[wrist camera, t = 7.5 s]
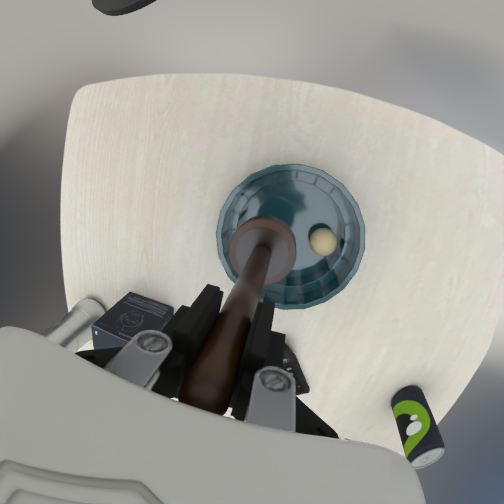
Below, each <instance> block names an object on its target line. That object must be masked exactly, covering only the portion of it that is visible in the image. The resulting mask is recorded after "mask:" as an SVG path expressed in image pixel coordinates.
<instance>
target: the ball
mask: <svg viewBox="0 0 504 504" xmlns="http://www.w3.org/2000/svg"><path fill="white" fill-rule="evenodd" d="M309 243H310V247H311V249H312V251H313V252H314V253H316V254H317V255H320V256H327V255H329V254H331V253H332V252H333V251H334V250H335V249H336V246H337V238H336V235H335V234H334V232H333V231H331V230H330V229H328V228H319V229H317V230H315V231H314V232H313V233H312V234H311V236H310V241H309Z"/></svg>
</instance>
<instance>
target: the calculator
mask: <svg viewBox="0 0 504 504" xmlns="http://www.w3.org/2000/svg"><path fill="white" fill-rule="evenodd" d="M283 369H284V370H286V371H288V372H289V373H290V374H291V375H292V376H293V378H294V379H295V383H296V395H300V394H304V393H309V387H308V384H307V382H306V380H305V377H304V375H303V373H302V370H301V368H300V365H299V363H298V361H297V358H296V356H295V355H294V354H293V352H292V351H291V350H290V349H289V347H288V346H287V345H286V344H285V348H284V359H283Z"/></svg>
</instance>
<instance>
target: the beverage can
mask: <svg viewBox="0 0 504 504" xmlns="http://www.w3.org/2000/svg"><path fill="white" fill-rule="evenodd" d="M391 406H392V410H393V413H394V416H395V420H396V423H397V427H398V430H399V434H400V437H401V441H402V445H403V448H404V452H405V456H406V459H407V460H409V462H410V463H411V464H412V466H413V468H414V469H419V468H423V467H425V466H428V465H430V464H432V463H433V462H435V461H437V460H438V459H439V458H440V457H441V456H442V455H443V454H444V443H443V440H442V437H441V435H440V432H439V430H438V427H437V425H436V422H435V420H434V417H433V415H432V412H431V410H430V408H429V405H428V403H427V401H426V399H425V396H424V394H423V392H422V390H421V389H420V388H418V387H407V388H404V389H402V390H401V391H399V392H398V393H397V394H396V395H395V397H394V398H393V400H392V403H391Z"/></svg>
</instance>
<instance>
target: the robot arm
mask: <svg viewBox="0 0 504 504" xmlns="http://www.w3.org/2000/svg"><path fill="white" fill-rule="evenodd" d="M222 297H223V291H220V287H217V286H213V285H210V284H207V285H206V287H205V288H204V289H203V291H202V292H201V293H200V295H199V296H198V297H197V299H196V300H195V301H194V303H193V304H192V305H191V307H187V306H184V305H182V306H181V307H180V308H179V309H178V311H177V312H176V313H175V314H174V315H173V317H172V318H171V319H170V320H169V322H168V323H167V324H166V325H165V327H164V328H163V329H162V330H161V331H156V330H145V331H142V332H139V333H138V334H136V335H135V336H134V337H133V338H132V339H131V340H130V341H129V342H128V343H127V344H126V345H125V346H123V347H115V348H106V349H96V350H85V351H80V352H77V353H75V354H74V353H72V352H71V351H69V350H67V349H65V348H63V347H62V346H60V345H58V344H56V343H55V342H53V341H51V340H49V339H47V338H45V337H43V336H41V335H39V334H37V333H34V332H32V331H29V330H25V329H21V328H17V327H3V328H0V504H426V503H425V498H424V494H423V491H422V487H421V484H420V481H419V478H418V476H417V473H416V471H415V469H414V468H413V466H412V464H411V463H410V462H409V460H407V459H406V458H405V457H404V456H402V455H400V454H399V453H397V452H394V451H392V450H389V449H387V448H384V447H381V446H377V445H373V444H369V443H364V442H358V441H353V440H349V439H347V438H346V439H339V437H338V435H337V433H336V432H335V431H334V430H333V429H332V428H331V427H330V426H329V425H327V424H326V423H325V422H324V421H323V420H322V419H321V418H319V417H318V416H317V415H316V414H315V413H314V412H313V411H312V410H311V409H309V408H308V407H307V406H306V405H305V404H304V403H303V402H302V401H301V400H300V399H299V398H298V397H296V383H295V379H294V378H293V376H292V375H291V374H290V373H289V372H288V371H286V370H284V369H283V359H284V348H285V334H282V333H278V332H274V331H271V327H272V321H273V315H274V308H275V302H271V301H267V300H263V303H262V302H259V301H258V303H257V307H256V310H255V314H254V317H253V321H252V324H251V327H250V331H249V334H248V337H247V341H246V344H245V348H244V351H243V354H242V358H241V361H240V365H239V368H238V372H237V376H236V379H235V388H234V391H233V394H232V398H231V401H230V405H229V407H231V408H233V409H232V412H231V416H234V418H235V419H232V418H229V417H225V416H222V415H218V414H215V413H211V412H208V411H205V410H202V409H199V408H196V407H193V406H190V405H187V404H184V403H181V402H178V401H176V400H173V399H170V398H174V397H175V398H177V399H178V394H179V390H180V387H181V385H182V383H183V382H184V380H185V378H186V376H187V374H188V372H189V370H190V368H191V367H192V365H193V363H194V361H195V359H196V357H197V355H198V353H199V352H200V350H201V348H202V346H203V344H204V342H205V340H206V338H207V336H208V334H209V332H210V331H211V329H212V327H213V325H214V323H215V321H216V319H217V317H218V315H219V312H220V307H221V302H222Z"/></svg>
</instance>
